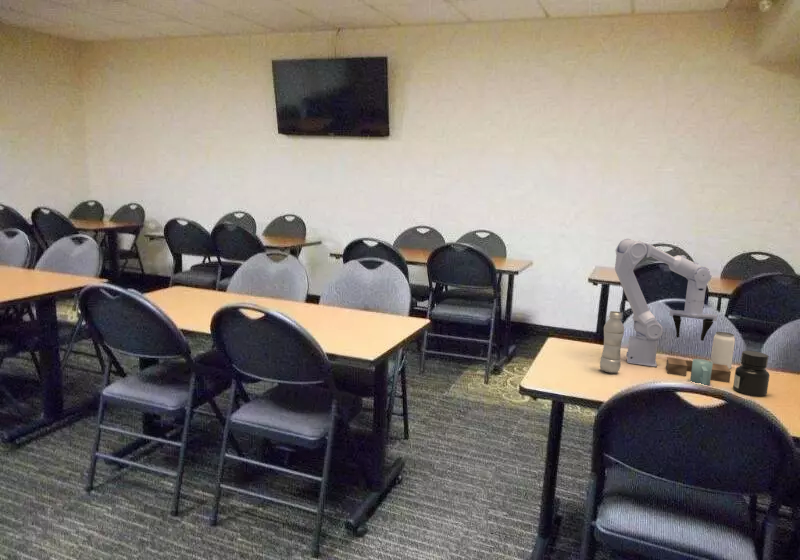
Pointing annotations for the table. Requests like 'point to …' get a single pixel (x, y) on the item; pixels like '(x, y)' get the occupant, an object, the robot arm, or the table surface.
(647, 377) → the table surface
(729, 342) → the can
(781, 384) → the table surface
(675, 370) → the rack
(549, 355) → the table surface
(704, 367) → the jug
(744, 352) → the ink bottle
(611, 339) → the plastic bottle
